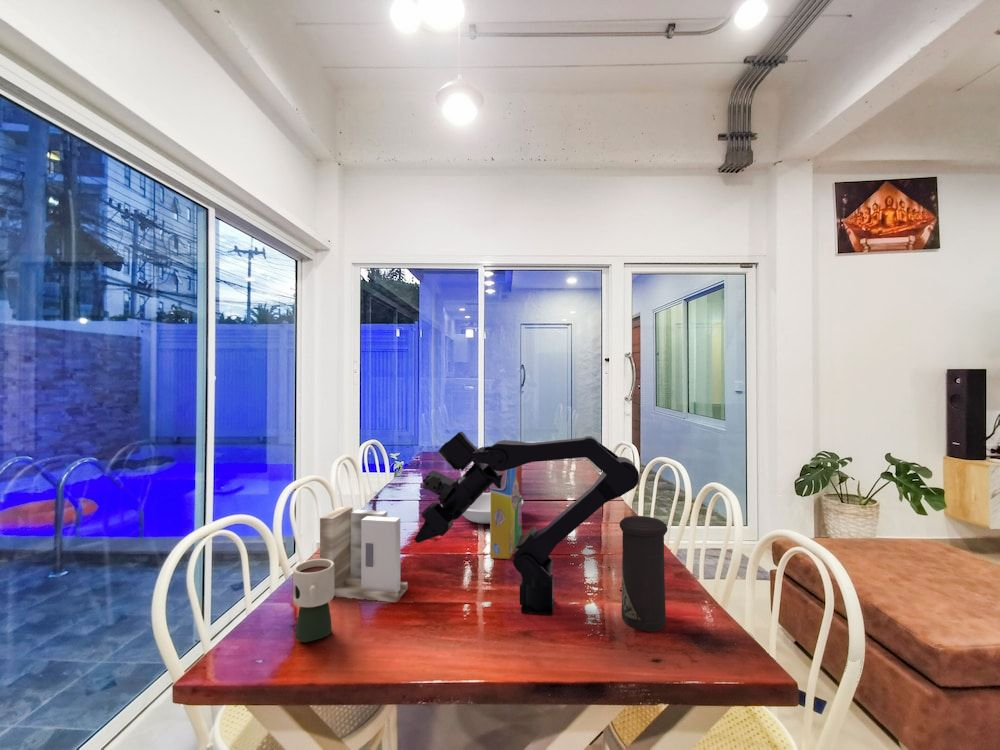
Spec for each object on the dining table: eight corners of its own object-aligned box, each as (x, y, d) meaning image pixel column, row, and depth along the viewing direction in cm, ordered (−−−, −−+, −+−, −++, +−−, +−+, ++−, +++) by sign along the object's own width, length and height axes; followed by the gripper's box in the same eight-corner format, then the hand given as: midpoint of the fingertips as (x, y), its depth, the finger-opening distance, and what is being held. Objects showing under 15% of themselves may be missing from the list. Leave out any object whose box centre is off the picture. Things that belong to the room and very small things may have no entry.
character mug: (295, 624, 89) (295, 557, 89) (334, 618, 91) (334, 552, 91) (290, 656, 79) (290, 580, 79) (334, 648, 81) (334, 574, 81)
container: (630, 605, 96) (630, 510, 97) (674, 619, 91) (673, 518, 91) (612, 622, 90) (612, 519, 90) (658, 638, 84) (657, 529, 84)
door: (400, 589, 103) (400, 517, 103) (394, 595, 99) (394, 522, 100) (367, 586, 104) (367, 516, 104) (360, 592, 101) (360, 520, 101)
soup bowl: (443, 515, 161) (443, 497, 161) (504, 507, 171) (504, 489, 171) (467, 537, 139) (467, 515, 139) (536, 526, 149) (536, 505, 149)
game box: (510, 560, 121) (509, 457, 121) (489, 558, 122) (489, 456, 122) (522, 534, 141) (521, 445, 141) (504, 533, 142) (504, 445, 142)
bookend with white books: (413, 582, 108) (413, 509, 108) (396, 602, 98) (396, 522, 98) (342, 576, 111) (342, 506, 111) (319, 595, 101) (319, 518, 101)
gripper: (456, 452, 109) (413, 497, 111) (430, 467, 91) (379, 520, 92) (489, 486, 107) (444, 531, 109) (469, 508, 89) (416, 562, 91)
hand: (422, 535), depth 100 cm, fingers open, 7 cm apart
